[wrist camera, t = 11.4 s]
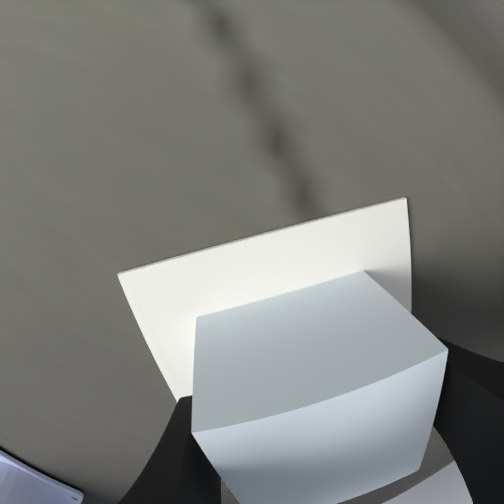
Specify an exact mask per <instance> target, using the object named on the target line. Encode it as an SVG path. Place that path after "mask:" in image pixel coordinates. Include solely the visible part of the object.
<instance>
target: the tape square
mask: <svg viewBox="0 0 504 504" xmlns="http://www.w3.org/2000/svg"><path fill="white" fill-rule="evenodd" d="M362 270H363V271H364V272H365V273H366V274H368V275H369V276H370V277H371V278H372V279H373V280H374V281H375V282H377V283H378V284H379V285H380V286H381V287H382V288H383V289H384V290H386V291H387V292H388V293H389V294H390V295H391V296H392V297H393V298H394V299H396V300H397V301H398V302H399V303H400V304H401V305H402V306H403V307H404V308H405V309H406V310H408V311H409V312H410V313H411V253H410V235H409V221H408V210H407V200H406V198H404V197H402V198H398V199H394V200H390V201H386V202H382V203H378V204H374V205H370V206H366V207H362V208H358V209H354V210H350V211H346V212H342V213H338V214H334V215H331V216H327V217H323V218H319V219H315V220H311V221H307V222H303V223H300V224H296V225H292V226H288V227H284V228H280V229H277V230H273V231H269V232H265V233H261V234H258V235H254V236H250V237H246V238H243V239H239V240H235V241H231V242H228V243H224V244H220V245H217V246H213V247H209V248H205V249H202V250H198V251H194V252H191V253H187V254H183V255H180V256H176V257H173V258H169V259H165V260H162V261H158V262H154V263H151V264H147V265H144V266H140V267H137V268H133V269H129V270H126V271H122V272H119V273H118V278H119V280H120V283H121V285H122V288H123V290H124V292H125V295H126V297H127V300H128V302H129V304H130V307H131V309H132V311H133V313H134V316H135V318H136V320H137V322H138V325H139V327H140V329H141V331H142V333H143V335H144V338H145V340H146V342H147V344H148V346H149V348H150V350H151V352H152V354H153V356H154V358H155V360H156V362H157V364H158V366H159V368H160V370H161V372H162V374H163V376H164V378H165V380H166V382H167V384H168V386H169V387H170V389H171V391H172V393H173V395H174V397H175V398H176V400H177V402H178V400H179V399H180V397H185V396H191V395H192V393H193V368H194V347H195V330H196V317H198V316H202V315H206V314H210V313H214V312H218V311H222V310H226V309H230V308H233V307H237V306H241V305H245V304H249V303H252V302H256V301H260V300H263V299H267V298H271V297H274V296H278V295H281V294H285V293H288V292H292V291H295V290H299V289H302V288H306V287H309V286H313V285H316V284H319V283H323V282H326V281H329V280H333V279H336V278H339V277H343V276H346V275H349V274H352V273H356V272H359V271H362Z"/></svg>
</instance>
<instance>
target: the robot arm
mask: <svg viewBox="0 0 504 504" xmlns="http://www.w3.org/2000/svg"><path fill="white" fill-rule="evenodd" d="M435 337H436V336H435ZM436 338H437V339H438V340H439V341H440V342H441V343H442V344H443V345H444V346H446V347H447V348H448V355H447V361H446V367H445V373H444V378H443V383H442V388H441V393H440V397H439V402H438V406H437V410H436V414H435V418H434V422H433V426H434V427H435V429H436V430H437V431H438V433H439V434H440V435H441V437H442V438H443V440H444V442H445V443H446V445H447V447H448V448H449V450H450V452H451V454H452V456H453V458H454V460H455V462H456V463H457V466H458V468H459V470H460V472H461V474H462V476H463V478H464V481H465V483H466V486H467V488H468V490H469V493H470V496H471V498H472V501H473V504H504V363H503V362H499V361H496V360H493V359H490V358H487V357H484V356H481V355H478V354H476V353H473V352H471V351H468V350H466V349H463V348H461V347H459V346H456V345H454V344H452V343H450V342H447V341H445V340H443V339H441V338H439V337H436ZM191 429H192V395H191V396H185V397H180V399H179V400H178V403H177V405H176V407H175V409H174V412H173V414H172V416H171V418H170V420H169V423H168V425H167V427H166V429H165V431H164V433H163V435H162V437H161V439H160V441H159V443H158V445H157V447H156V449H155V451H154V452H153V454H152V456H151V457H150V459H149V461H148V463H147V464H146V466H145V468H144V469H143V471H142V472H141V474H140V476H139V477H138V479H137V480H136V481H135V483H134V484H133V486H132V487H131V488H130V490H129V491H128V492H127V493H126V495H125V496H124V497H123V498H122V500H121V501H120V502H119V503H118V504H221V477H220V476H219V474H218V473H217V471H216V470H215V468H214V467H213V465H212V464H211V462H210V461H209V459H208V458H207V456H206V455H205V453H204V452H203V450H202V449H201V447H200V446H199V444H198V443H197V441H196V439H195V438H194V436H193V435H192V433H191ZM83 497H84V495H83V493H82V492H80V491H78V490H76V489H74V488H71V487H69V486H67V485H65V484H62V483H60V482H58V481H56V480H54V479H52V478H50V477H48V476H46V475H44V474H42V473H40V472H38V471H36V470H34V469H32V468H30V467H28V466H27V465H25V464H23V463H21V462H20V461H18V460H16V459H14V458H13V457H11V456H9V455H8V454H6V453H4V452H3V451H1V450H0V504H81V502H82V500H83Z"/></svg>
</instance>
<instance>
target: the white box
mask: <svg viewBox="0 0 504 504" xmlns="http://www.w3.org/2000/svg"><path fill="white" fill-rule="evenodd" d="M447 355H448V348H447V347H446V346H444V345H443V344H442V343H441V342H440V341H439V340H438V339H437V338H436V337H435V336H434V335H433V334H432V333H431V332H430V331H429V330H428V329H427V328H426V327H425V326H424V325H423V324H421V323H420V322H419V321H418V320H417V319H416V318H415V317H414V316H413V315H412V314H411V313H410V312H409V311H408V310H406V309H405V308H404V307H403V306H402V305H401V304H400V303H399V302H398V301H397V300H396V299H394V298H393V297H392V296H391V295H390V294H389V293H388V292H387V291H386V290H384V289H383V288H382V287H381V286H380V285H379V284H378V283H377V282H375V281H374V280H373V279H372V278H371V277H370V276H369V275H368V274H366V273H365V272H364V271H363V270H362V271H359V272H356V273H352V274H349V275H346V276H343V277H339V278H336V279H333V280H329V281H326V282H323V283H319V284H316V285H313V286H309V287H306V288H302V289H299V290H295V291H292V292H288V293H285V294H281V295H278V296H274V297H271V298H267V299H263V300H260V301H256V302H252V303H249V304H245V305H241V306H237V307H233V308H230V309H226V310H222V311H218V312H214V313H210V314H206V315H202V316H198V317H196V330H195V347H194V368H193V393H192V429H191V433H192V435H193V436H194V438H195V439H196V441H197V443H198V444H199V446H200V447H201V449H202V450H203V452H204V453H205V455H206V456H207V458H208V459H209V461H210V462H211V464H212V465H213V467H214V468H215V470H216V471H217V473H218V474H219V476H220V477H221V478H222V480H223V481H224V483H225V484H226V486H227V487H228V488H229V490H230V491H231V492H232V494H233V495H234V496H235V498H236V499H237V500H238V502H239V503H240V504H337V503H340V502H343V501H346V500H349V499H352V498H354V497H357V496H360V495H362V494H365V493H368V492H370V491H373V490H375V489H378V488H380V487H383V486H385V485H387V484H390V483H392V482H394V481H396V480H399V479H401V478H403V477H405V476H407V475H409V474H411V473H413V472H416V471H418V470H419V468H420V465H421V462H422V459H423V456H424V453H425V450H426V446H427V443H428V440H429V436H430V433H431V429H432V426H433V422H434V418H435V414H436V410H437V406H438V402H439V397H440V393H441V388H442V383H443V378H444V373H445V367H446V361H447Z"/></svg>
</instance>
